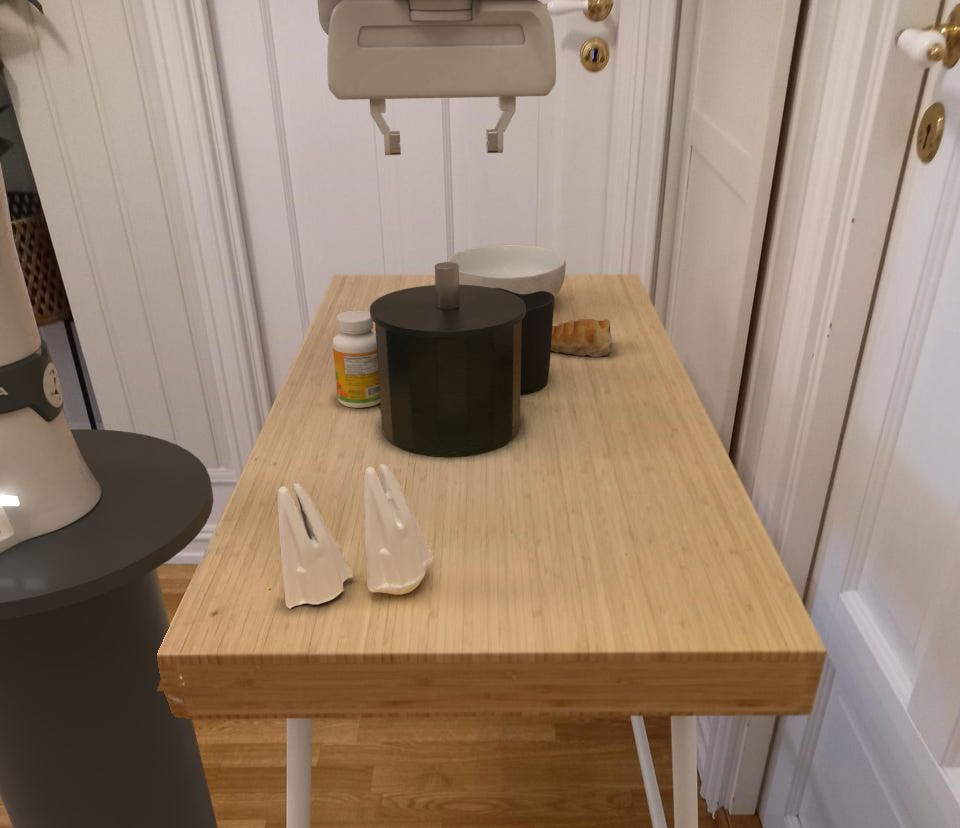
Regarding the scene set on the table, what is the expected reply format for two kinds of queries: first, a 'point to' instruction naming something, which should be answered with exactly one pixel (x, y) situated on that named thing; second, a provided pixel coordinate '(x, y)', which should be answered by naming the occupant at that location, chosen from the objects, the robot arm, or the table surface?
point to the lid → (447, 308)
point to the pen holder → (536, 339)
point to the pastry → (582, 337)
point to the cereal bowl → (512, 268)
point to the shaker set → (321, 564)
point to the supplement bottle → (356, 360)
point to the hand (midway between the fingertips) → (443, 153)
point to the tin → (450, 391)
